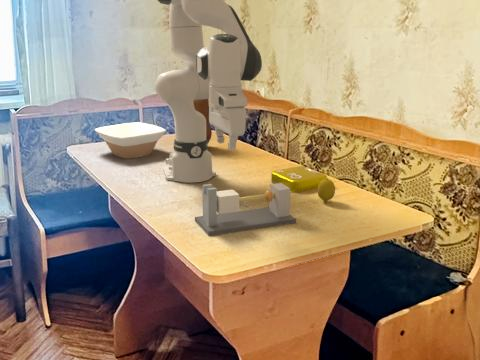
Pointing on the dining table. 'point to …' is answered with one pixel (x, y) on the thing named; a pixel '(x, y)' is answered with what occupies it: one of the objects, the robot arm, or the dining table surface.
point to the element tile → (298, 178)
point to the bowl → (131, 138)
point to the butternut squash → (203, 108)
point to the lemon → (326, 189)
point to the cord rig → (246, 212)
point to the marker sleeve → (227, 201)
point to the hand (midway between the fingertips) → (226, 146)
